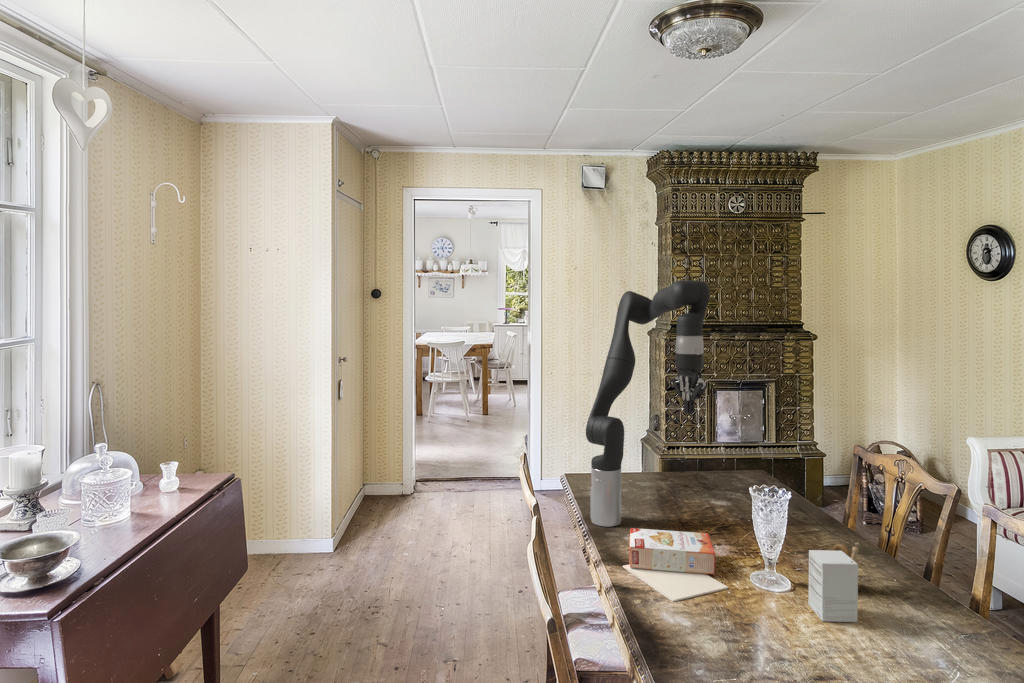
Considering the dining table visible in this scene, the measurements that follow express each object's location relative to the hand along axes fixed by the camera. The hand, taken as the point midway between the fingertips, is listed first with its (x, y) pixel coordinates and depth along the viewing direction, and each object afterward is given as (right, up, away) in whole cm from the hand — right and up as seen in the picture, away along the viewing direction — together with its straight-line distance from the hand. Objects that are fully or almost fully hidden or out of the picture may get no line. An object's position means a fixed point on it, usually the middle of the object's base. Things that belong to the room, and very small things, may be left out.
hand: (689, 413), depth 164 cm
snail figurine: (+29, -38, -27) cm, 55 cm away
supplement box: (+19, -39, -38) cm, 58 cm away
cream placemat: (-10, -38, -20) cm, 44 cm away
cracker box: (+2, -34, -14) cm, 37 cm away
